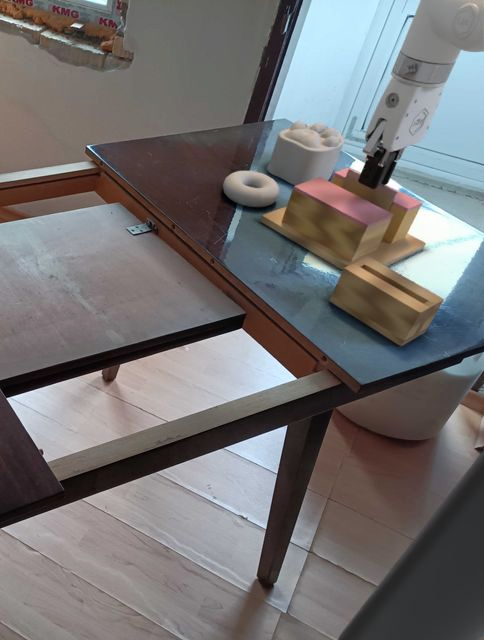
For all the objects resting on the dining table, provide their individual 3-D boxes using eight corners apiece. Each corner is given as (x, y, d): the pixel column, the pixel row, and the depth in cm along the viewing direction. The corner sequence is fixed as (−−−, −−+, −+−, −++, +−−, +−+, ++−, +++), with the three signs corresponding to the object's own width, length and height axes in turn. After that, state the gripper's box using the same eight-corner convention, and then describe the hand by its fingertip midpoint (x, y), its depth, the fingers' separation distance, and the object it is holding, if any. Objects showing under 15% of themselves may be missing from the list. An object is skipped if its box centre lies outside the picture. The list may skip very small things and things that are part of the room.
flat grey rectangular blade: (380, 233, 115) (415, 161, 106) (372, 236, 114) (407, 164, 105) (335, 208, 120) (365, 138, 112) (328, 211, 119) (357, 141, 111)
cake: (423, 249, 115) (444, 208, 110) (359, 280, 107) (379, 237, 102) (324, 197, 127) (339, 157, 122) (259, 221, 119) (273, 180, 114)
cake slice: (405, 237, 115) (423, 202, 111) (391, 244, 113) (408, 208, 109) (335, 200, 123) (349, 167, 119) (320, 206, 122) (334, 172, 117)
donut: (253, 181, 130) (210, 187, 127) (259, 164, 128) (215, 170, 125) (287, 207, 123) (242, 214, 120) (293, 189, 121) (247, 196, 118)
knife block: (424, 332, 98) (444, 299, 94) (400, 346, 95) (420, 312, 91) (353, 289, 105) (368, 256, 101) (328, 301, 102) (343, 267, 98)
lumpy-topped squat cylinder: (260, 168, 134) (273, 125, 129) (300, 153, 141) (314, 112, 135) (304, 190, 128) (320, 146, 123) (344, 174, 135) (361, 131, 129)
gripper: (414, 85, 94) (362, 205, 106) (475, 68, 101) (420, 182, 113) (367, 68, 99) (322, 184, 111) (428, 53, 106) (380, 163, 118)
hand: (372, 182), depth 112 cm, fingers closed on flat grey rectangular blade, 2 cm apart
